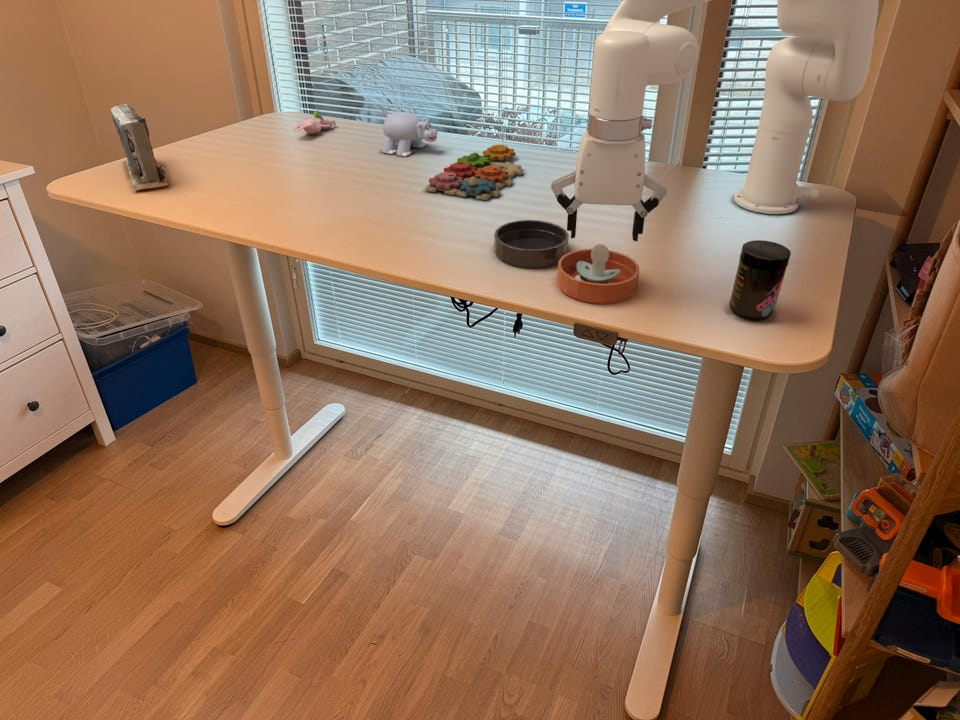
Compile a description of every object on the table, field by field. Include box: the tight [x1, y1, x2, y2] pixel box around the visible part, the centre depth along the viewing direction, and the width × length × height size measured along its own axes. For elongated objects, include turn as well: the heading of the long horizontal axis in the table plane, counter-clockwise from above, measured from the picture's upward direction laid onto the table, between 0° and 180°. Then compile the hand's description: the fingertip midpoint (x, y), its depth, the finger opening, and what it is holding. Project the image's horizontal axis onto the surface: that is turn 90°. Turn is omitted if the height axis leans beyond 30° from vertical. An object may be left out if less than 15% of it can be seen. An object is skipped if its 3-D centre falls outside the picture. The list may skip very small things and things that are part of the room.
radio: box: [110, 103, 169, 191], centre depth 153 cm, size 23×9×15 cm, turn 23°
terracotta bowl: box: [556, 248, 641, 305], centre depth 113 cm, size 13×13×4 cm
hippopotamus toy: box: [379, 107, 439, 157], centre depth 170 cm, size 11×15×10 cm
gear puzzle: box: [425, 144, 524, 201], centre depth 156 cm, size 31×16×4 cm, turn 157°
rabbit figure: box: [292, 109, 337, 135], centre depth 182 cm, size 6×6×15 cm
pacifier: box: [575, 243, 621, 284], centre depth 112 cm, size 7×6×6 cm
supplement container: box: [728, 239, 792, 322], centre depth 104 cm, size 7×7×10 cm
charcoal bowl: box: [493, 219, 570, 269], centre depth 123 cm, size 13×13×4 cm
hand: (603, 236), depth 109 cm, fingers open, 9 cm apart
